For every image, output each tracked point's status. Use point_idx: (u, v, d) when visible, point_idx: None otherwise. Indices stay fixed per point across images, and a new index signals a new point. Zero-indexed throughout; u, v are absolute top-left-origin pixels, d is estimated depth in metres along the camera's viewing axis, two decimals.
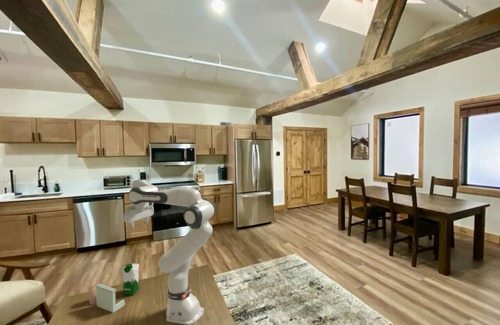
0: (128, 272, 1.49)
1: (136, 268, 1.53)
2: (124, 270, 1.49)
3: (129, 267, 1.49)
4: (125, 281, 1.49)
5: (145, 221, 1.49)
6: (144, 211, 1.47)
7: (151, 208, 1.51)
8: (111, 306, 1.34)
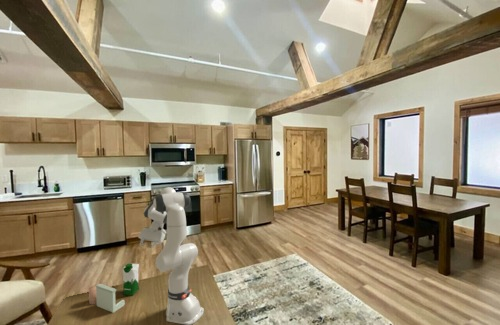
0: (128, 272, 1.49)
1: (136, 268, 1.53)
2: (124, 270, 1.49)
3: (129, 267, 1.49)
4: (125, 281, 1.49)
5: None
6: (154, 234, 1.69)
7: (160, 234, 1.68)
8: (111, 306, 1.34)
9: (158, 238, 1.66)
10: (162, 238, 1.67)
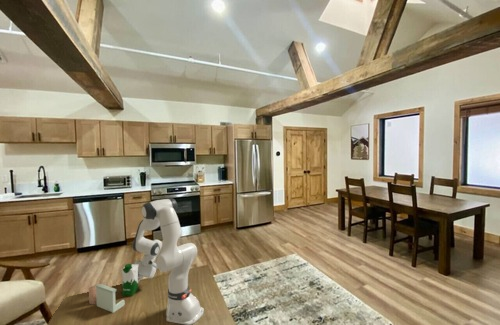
0: (127, 272, 1.48)
1: (135, 268, 1.52)
2: (123, 270, 1.49)
3: (128, 267, 1.49)
4: (124, 281, 1.49)
5: None
6: (144, 268, 1.61)
7: (150, 268, 1.59)
8: (111, 306, 1.34)
9: (148, 273, 1.57)
10: (152, 273, 1.58)
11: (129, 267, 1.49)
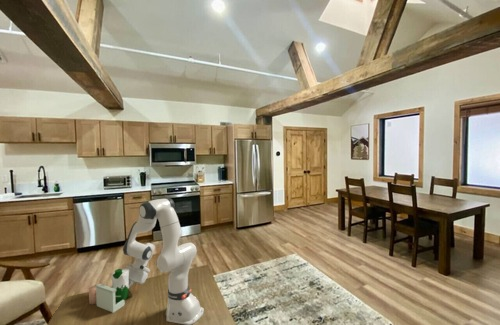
0: (118, 278, 1.42)
1: (126, 273, 1.46)
2: (113, 276, 1.42)
3: (119, 273, 1.42)
4: None
5: None
6: (135, 273, 1.54)
7: (141, 273, 1.52)
8: (111, 306, 1.34)
9: (139, 278, 1.50)
10: (143, 278, 1.51)
11: (119, 272, 1.43)
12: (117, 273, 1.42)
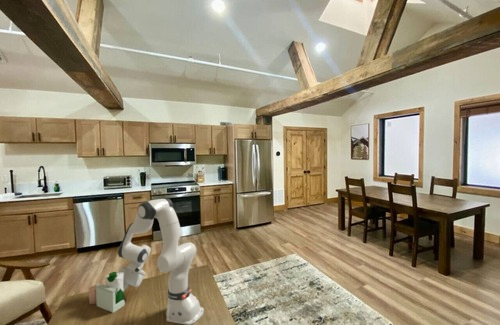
0: (112, 281, 1.38)
1: (121, 276, 1.42)
2: (108, 279, 1.38)
3: (113, 276, 1.39)
4: None
5: None
6: (130, 276, 1.50)
7: (136, 276, 1.49)
8: (111, 306, 1.34)
9: (134, 281, 1.47)
10: (139, 281, 1.48)
11: (114, 275, 1.39)
12: (111, 276, 1.38)
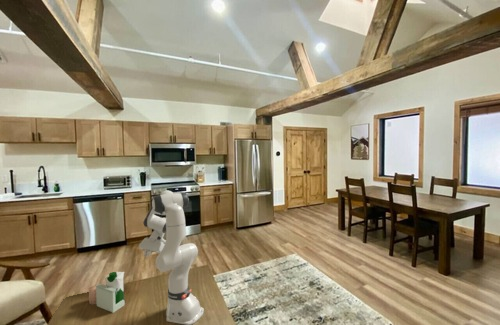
0: (112, 281, 1.38)
1: (121, 276, 1.42)
2: (108, 279, 1.38)
3: (113, 276, 1.39)
4: None
5: (146, 253, 1.63)
6: (153, 244, 1.66)
7: (159, 243, 1.65)
8: (111, 306, 1.34)
9: (157, 248, 1.63)
10: (161, 248, 1.63)
11: (114, 275, 1.39)
12: (111, 276, 1.38)
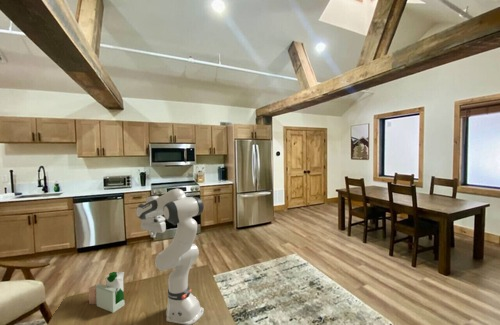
0: (112, 281, 1.38)
1: (121, 276, 1.42)
2: (108, 279, 1.38)
3: (113, 276, 1.39)
4: None
5: (152, 235, 1.60)
6: (153, 225, 1.57)
7: (159, 225, 1.55)
8: (111, 306, 1.34)
9: (159, 230, 1.55)
10: (163, 228, 1.56)
11: (114, 275, 1.39)
12: (111, 276, 1.38)
